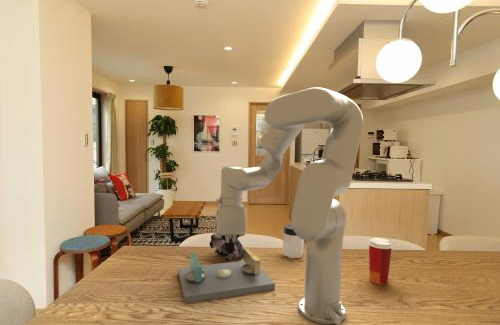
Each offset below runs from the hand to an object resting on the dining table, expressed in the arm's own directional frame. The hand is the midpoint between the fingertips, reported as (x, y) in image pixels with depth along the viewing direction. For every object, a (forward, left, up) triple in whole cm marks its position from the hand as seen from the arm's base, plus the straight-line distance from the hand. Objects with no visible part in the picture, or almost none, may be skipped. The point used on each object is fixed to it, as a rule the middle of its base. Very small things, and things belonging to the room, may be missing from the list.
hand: (229, 252), depth 103 cm
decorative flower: (+15, -3, -8) cm, 18 cm away
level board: (-6, +3, -8) cm, 10 cm away
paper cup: (-21, -47, -8) cm, 52 cm away
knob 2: (-6, -6, -5) cm, 10 cm away
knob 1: (-6, +13, -5) cm, 15 cm away
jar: (+9, -30, -8) cm, 33 cm away
